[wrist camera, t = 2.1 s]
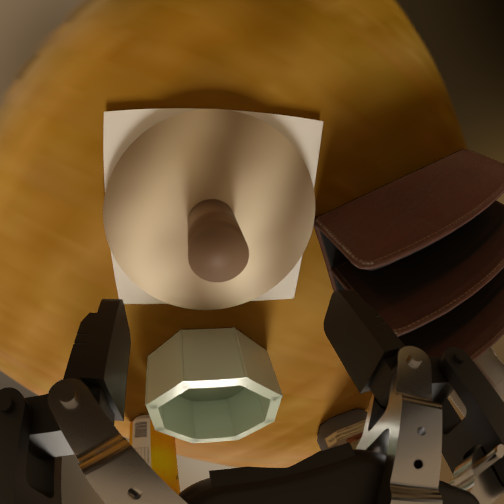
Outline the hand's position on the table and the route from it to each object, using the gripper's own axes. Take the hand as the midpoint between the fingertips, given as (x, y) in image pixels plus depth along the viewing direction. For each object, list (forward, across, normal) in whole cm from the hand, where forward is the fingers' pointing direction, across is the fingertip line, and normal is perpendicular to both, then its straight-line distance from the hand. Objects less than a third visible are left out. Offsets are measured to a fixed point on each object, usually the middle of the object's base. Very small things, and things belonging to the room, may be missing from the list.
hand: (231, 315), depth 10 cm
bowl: (+11, 0, +17) cm, 21 cm away
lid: (+11, 0, 0) cm, 11 cm away
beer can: (+12, +8, +29) cm, 32 cm away
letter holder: (+12, -19, 0) cm, 23 cm away
